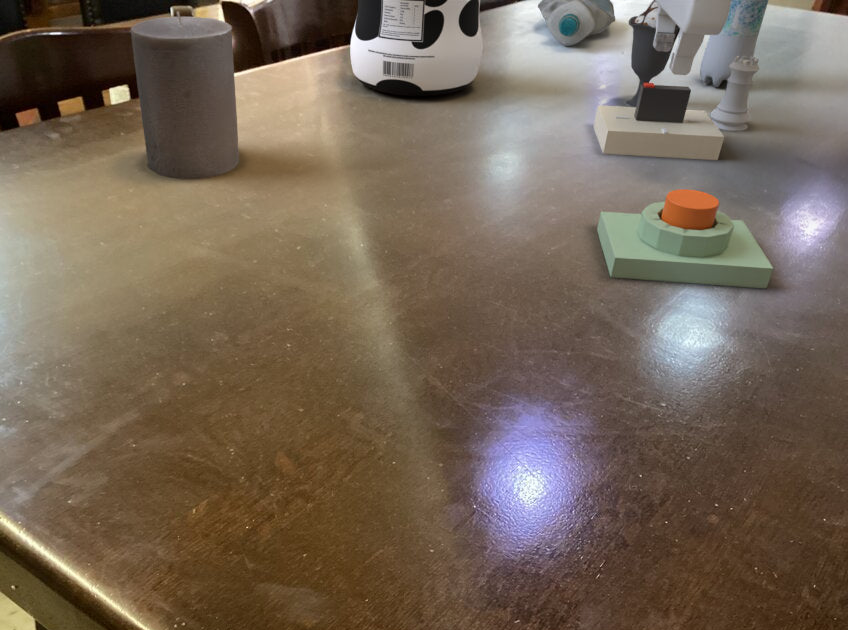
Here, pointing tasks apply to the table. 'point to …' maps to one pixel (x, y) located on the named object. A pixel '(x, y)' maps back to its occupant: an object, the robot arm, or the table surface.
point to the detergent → (576, 18)
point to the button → (690, 209)
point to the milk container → (416, 45)
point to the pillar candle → (187, 95)
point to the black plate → (662, 103)
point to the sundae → (647, 48)
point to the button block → (682, 250)
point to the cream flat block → (657, 134)
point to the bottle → (733, 40)
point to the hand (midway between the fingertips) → (669, 61)
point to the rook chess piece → (736, 96)
